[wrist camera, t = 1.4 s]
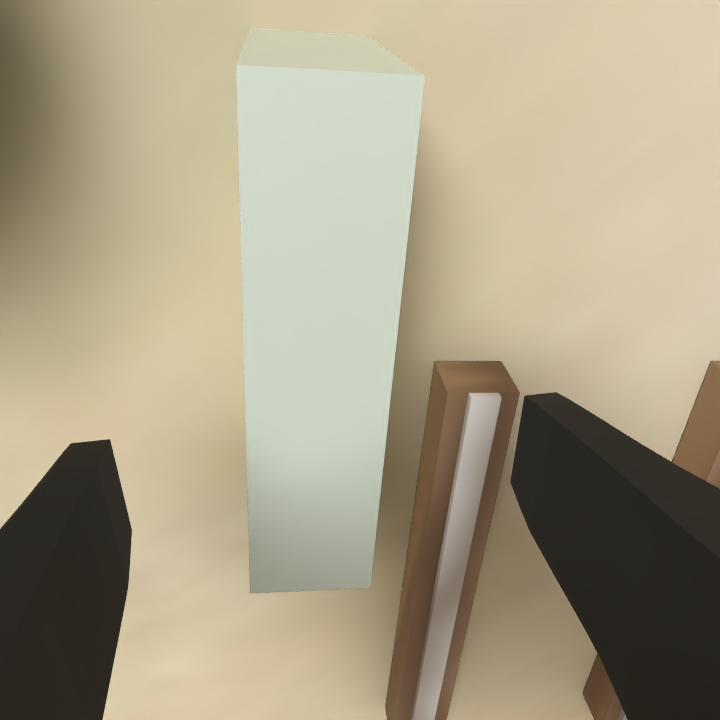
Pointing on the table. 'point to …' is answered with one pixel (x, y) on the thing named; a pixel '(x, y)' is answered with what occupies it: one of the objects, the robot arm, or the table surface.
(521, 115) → the table surface
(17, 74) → the table surface
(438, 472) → the sliding track
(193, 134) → the table surface
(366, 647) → the table surface
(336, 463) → the door panel
